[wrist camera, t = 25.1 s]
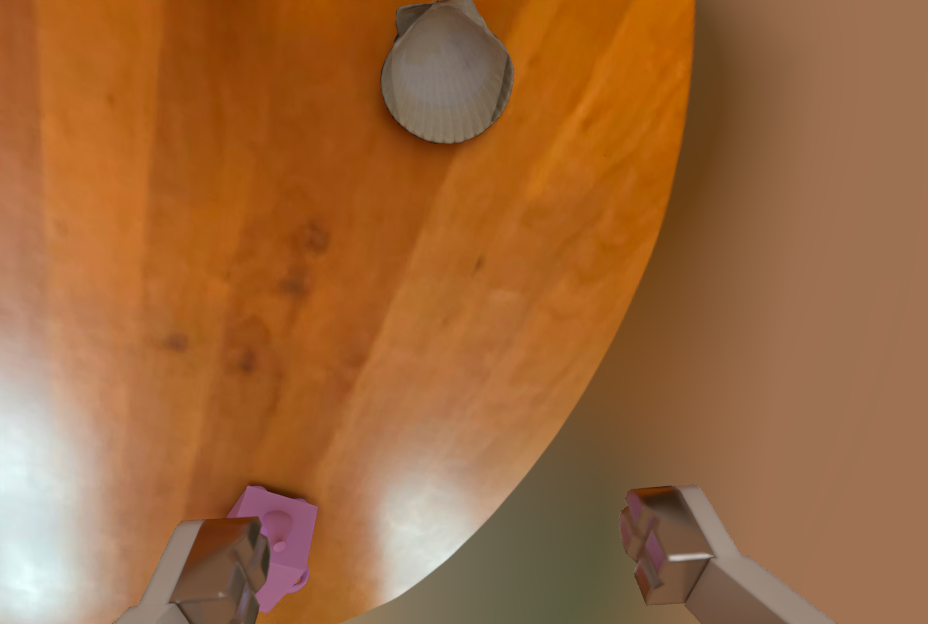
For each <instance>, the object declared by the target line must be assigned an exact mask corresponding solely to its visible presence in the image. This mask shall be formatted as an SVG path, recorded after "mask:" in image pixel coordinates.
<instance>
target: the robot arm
mask: <svg viewBox="0 0 928 624" xmlns="http://www.w3.org/2000/svg"><path fill="white" fill-rule="evenodd" d="M625 499H626V502H627V504H628V506H627V507H625V508H624V509H623V510H621V513H620V517H619V529H620V530H619V531H620V536H621V540H622V543H623V546H624V549H625V552H626V554H627V555H629V556H630V557H631V558H632V559H633V560H634V561H635V562H636V563H637V565H636V568H635V572H634V575H635V578H636V580H637V583H638V585H639V588H640V591H641V593H642V596H643V598H644V601H645V603H646V605H665V604H680V603H685V607H686V608H687V609H688V610H689V611H690V612H691V613H692V614H693V615H694V616H695V617H696V618H697V620H698V621H699V622H700V623H701V624H837V623H836V622H834V621H833V620H832V619H830V618H829V617H828V616H827V615H825V614H824V613H822V612H821V611H820V610H819V609H817V608H816V607H815V606H813V605H812V604H811V603H810V602H808V601H807V600H806V599H804V598H803V597H802V596H800V595H799V594H798V593H796V592H795V591H794V590H793V589H791V588H790V587H789V586H787V585H786V584H784V583H783V582H782V581H781V580H779V579H778V578H777V577H776V576H774V575H773V574H772V573H770V572H769V571H768V570H766V569H765V568H764V567H762V566H761V565H760V564H758V563H757V562H756V561H754V560H753V559H752V558H751V557H749V556H741V554H740V553H739V551H738V549H737V548H736V546H735V544H734V543H733V541H732V539H731V538H730V536H729V534H728V533H727V531H726V529H725V528H724V526H723V524H722V523H721V521H720V519H719V518H718V516H717V514H716V513H715V511H714V509H713V508H712V506H711V504H710V503H709V501H708V499H707V498H706V496H705V494H704V493H703V491H702V490H701V489H700V488H699V487H698V486H697V485H680V486H662V487H651V488H640V489H631V490H629V491H628V492H627V495H626V498H625ZM261 528H262V523H261V521H260V519H259V517H258V516H253V517H237V518H222V519H201V520H189V521H181V522H180V523H179V525H178V526H177V527H176V528H175V529H174V531H173V533H172V535H171V537H170V539H169V541H168V543H167V546H166V548H165V550H164V552H163V554H162V556H161V558H160V560H159V562H158V565H157V567H156V569H155V571H154V573H153V575H152V577H151V579H150V581H149V584H148V586H147V588H146V590H145V592H144V594H143V596H142V598H141V600H140V603H139V605H138V606H133V607H129V608H128V609H127V610H126V611H125V612H124V613H123V614H122V615H121V616H120V617H119V618H118V619H117V620H115V621H114V622H113V623H112V624H255V622H256V618H257V614H258V611H259V607H260V604H259V602H258V600H257V597H256V595H255V594H256V593H257V592H258V591H259V590H260V589H261V588H262V587H263V585H264V584H265V583H266V581H267V577H268V573H269V569H270V559H271V549H270V543H269V540H268V537H267V536H265V535H263V534H261V533H260V532H261Z"/></svg>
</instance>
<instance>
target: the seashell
mask: <svg viewBox="0 0 928 624" xmlns="http://www.w3.org/2000/svg"><path fill="white" fill-rule="evenodd" d="M396 17H397V20H396V27H397V31H398V35H397V36H396V38H395V40H394V45H393V47H392V49H391V51H390V53H389V55H388V56H387V59H386V60H385V62H384V64H383V67H382V71H381V79H380V81H381V86H382V87H381V92H382V95H383V98H384V101H385V104H386V106H387V109H388V110H389V112H390V113H391V115H392V117H393V118H394V119H395V120H396V121H397V123H398V124H399V125H401V126H403V127H404V128H405V129H406V131H408V132H410V133H411V134H413V135H415V136H417V137H418V138H421V139H423V140H426V141H429V142H433V143H446V144H452V143H461V142H463V141H466V140H470V139H472V138H474V137H475V136H478V135H480V134H481V133H483V132H484V131H485V130H486V129H488V128H489V127H490V126H491V125H492V124H493V123H494V122H495V121H496V120H497V119H498V118H499V116H500V115H501V114H502V112H503V110H504V108H505V107H506V105H507V103H508V101H509V98H510V95H511V92H512V87H513V82H514V67H513V64H512V61H511V58H510V55H509V53H508V51H507V49H506V48H505V46H504V45H503V44H502V43H501V42H500V40H499V39H498V38H497V37H496V35H494V34H493V33H492V32H491V31H490V30H489V29H488V27H487V24H486V23H485V21H484V19H483V18H482V16H481V15H480V14H479V13H478V11H477V8H476V6H475V5H474V3H473V1H472V0H441V1H433V2H432V3H428V4H425V3H424V4H411V5H405V6H401V7H399V8H398V9H397V11H396Z"/></svg>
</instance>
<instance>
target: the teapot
mask: <svg viewBox="0 0 928 624" xmlns="http://www.w3.org/2000/svg"><path fill="white" fill-rule="evenodd" d="M317 511H318V506H314V505H311V504H308V503H307V501H306V500H304V499H300V498H297V499H291V498H288V497H285V496H281V495H278V494H274V493H271V492H268V491H267V490H266V489H265V488H264V487H261V486H252V487H251V486H247V488H246V489H245V491H244V492H243V493H242V495H241V496H240V498H239V499H238V501H237V502H236V504H235V505H234V507H233V508H232V510H231V511H230V513H229V514H228V516H227V517H226V518H237V517H253V516H258V517H259V519H260V521H261V523H262V528H261V532H260V533H261V534H263V535H265V536H267V537H268V540H269V543H270V549H271V559H270V569H269V573H268V577H267V581H266V583H265V584H264V585H263V587H262V588H261V589H260V590H259V591H258V592H257V593H256V594H255V595H256V597H257V600H258V602H259V604H260V607H259V611H260V612H265V613H268V612H269V611H270V610H271V609H272V608H273V607H274V606H275V605H276V604H277V603H278V602H279V600H280V599H281V598H282V597H283V596H284V595H285V594H286V593H289V594H291V593H295V592H297V591H299V590H300V589H301V588H302V587H303V586H304V585H305V584H306V583H307V581H308V578H309V568H308V564H307V561H308V556H309V551H310V546H311V541H312V536H313V531H314V526H315V521H316V516H317ZM300 577H301V581H300V582H299V583H297V584H295V583H296V581H297V580H298V579H299V578H300Z"/></svg>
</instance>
